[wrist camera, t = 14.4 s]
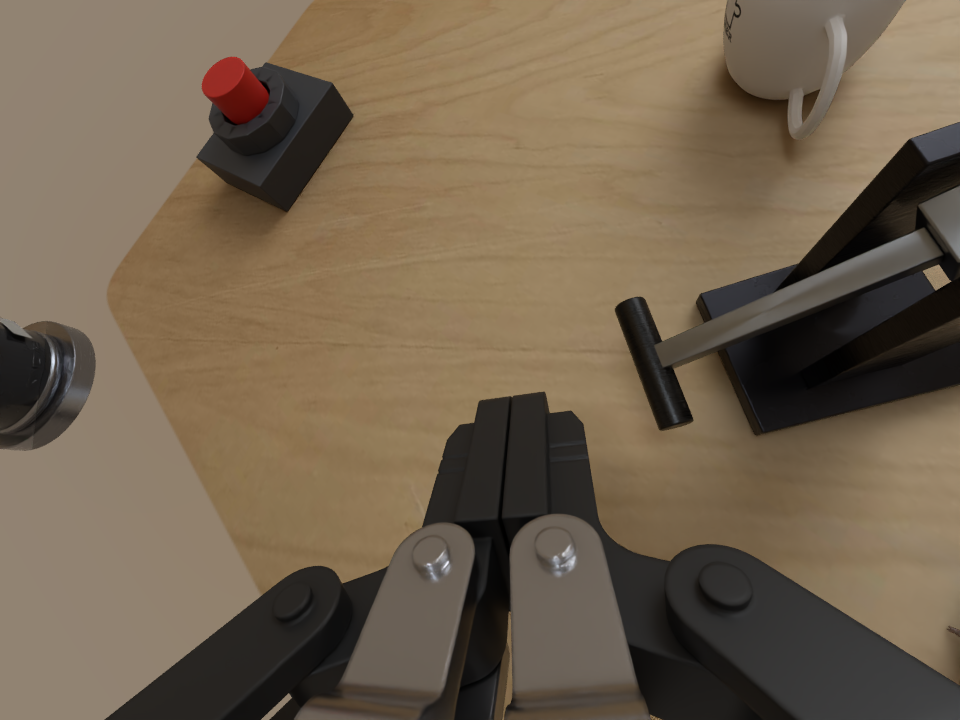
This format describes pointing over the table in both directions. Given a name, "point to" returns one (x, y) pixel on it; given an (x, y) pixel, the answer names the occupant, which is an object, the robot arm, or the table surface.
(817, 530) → the table surface
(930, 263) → the lever
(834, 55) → the mug
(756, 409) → the bracket
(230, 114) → the button
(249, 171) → the button block
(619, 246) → the table surface
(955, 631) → the fruit
